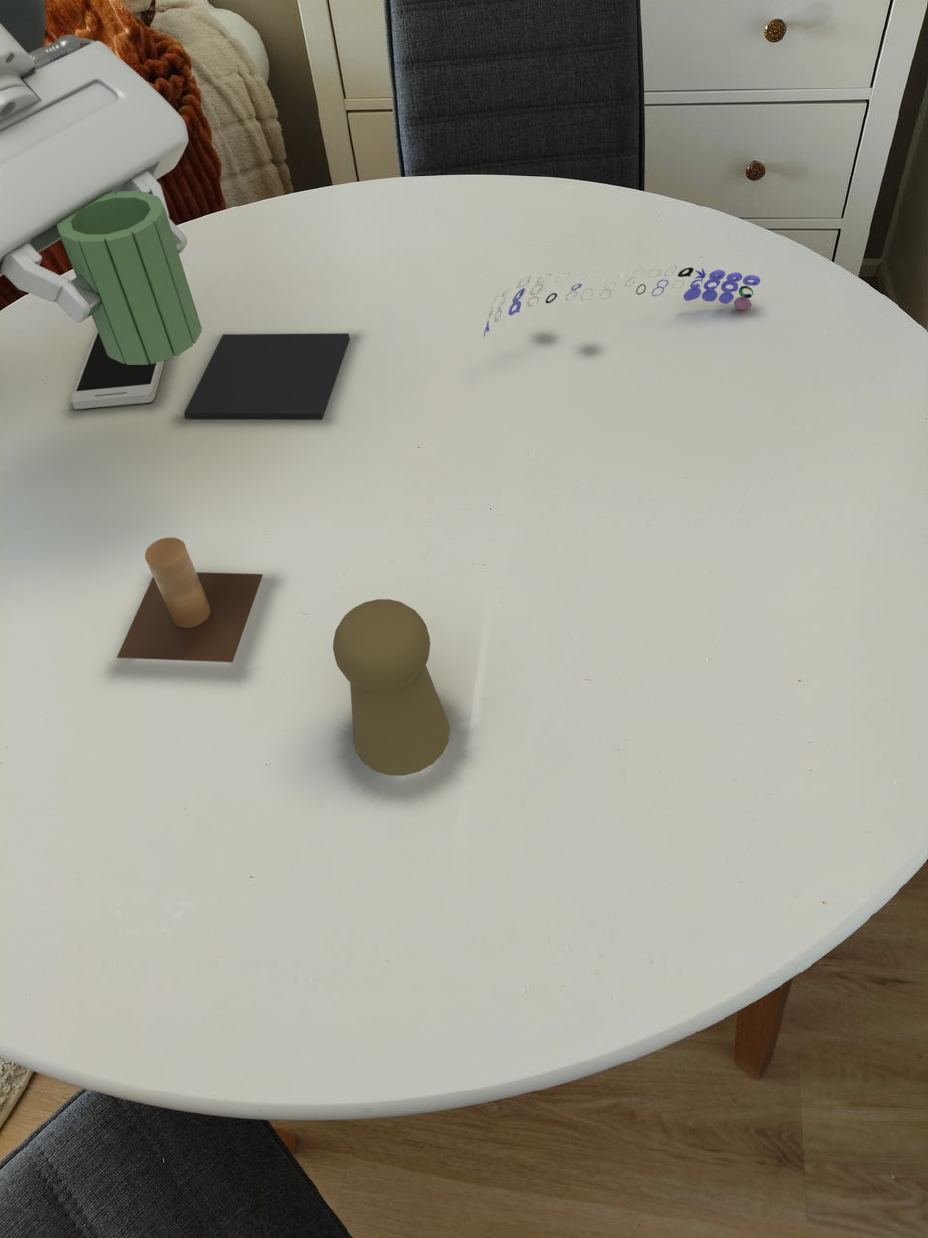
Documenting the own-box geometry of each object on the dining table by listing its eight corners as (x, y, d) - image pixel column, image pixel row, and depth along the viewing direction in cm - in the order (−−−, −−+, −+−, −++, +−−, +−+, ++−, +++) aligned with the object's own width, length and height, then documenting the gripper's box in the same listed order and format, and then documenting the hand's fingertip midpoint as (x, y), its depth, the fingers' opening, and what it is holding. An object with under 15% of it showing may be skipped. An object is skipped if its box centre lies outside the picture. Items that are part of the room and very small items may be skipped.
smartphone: (179, 307, 97) (176, 299, 96) (153, 402, 86) (150, 393, 86) (107, 315, 97) (104, 306, 96) (72, 410, 86) (68, 401, 86)
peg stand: (121, 666, 66) (82, 595, 61) (159, 580, 71) (127, 507, 66) (236, 671, 65) (207, 598, 60) (266, 583, 70) (241, 509, 65)
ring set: (716, 295, 94) (770, 194, 84) (747, 392, 89) (808, 297, 79) (459, 288, 89) (483, 179, 79) (476, 390, 84) (504, 288, 74)
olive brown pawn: (341, 725, 61) (305, 605, 53) (431, 690, 63) (409, 567, 55) (373, 801, 58) (340, 684, 49) (469, 762, 59) (452, 642, 51)
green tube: (91, 364, 61) (40, 241, 55) (125, 311, 65) (80, 191, 59) (184, 365, 60) (142, 240, 54) (212, 311, 64) (176, 189, 58)
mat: (185, 418, 84) (183, 412, 84) (224, 339, 92) (222, 333, 92) (322, 419, 83) (321, 413, 82) (349, 338, 91) (348, 332, 90)
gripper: (75, 60, 64) (227, 232, 68) (-202, 196, 53) (-3, 394, 57) (99, -12, 59) (263, 177, 63) (-201, 122, 48) (17, 344, 52)
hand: (135, 282), depth 60 cm, fingers closed on green tube, 6 cm apart
